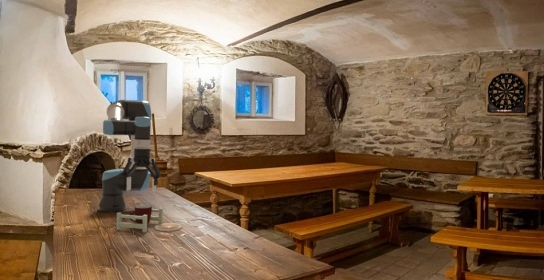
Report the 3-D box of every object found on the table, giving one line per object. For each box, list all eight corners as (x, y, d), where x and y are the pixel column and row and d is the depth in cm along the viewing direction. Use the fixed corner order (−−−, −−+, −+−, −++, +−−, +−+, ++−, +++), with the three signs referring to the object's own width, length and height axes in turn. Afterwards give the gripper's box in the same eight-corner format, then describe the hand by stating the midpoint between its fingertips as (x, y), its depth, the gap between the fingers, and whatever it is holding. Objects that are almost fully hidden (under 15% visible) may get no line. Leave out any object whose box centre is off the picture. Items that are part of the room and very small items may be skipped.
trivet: (149, 230, 197) (150, 228, 197) (162, 223, 210) (162, 221, 210) (175, 232, 195) (175, 230, 195) (186, 225, 208) (186, 224, 208)
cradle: (116, 229, 196) (116, 213, 195) (135, 221, 213) (136, 206, 213) (145, 232, 193) (145, 215, 193) (162, 223, 211) (163, 208, 210)
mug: (130, 229, 197) (131, 208, 197) (127, 225, 204) (128, 205, 204) (153, 227, 202) (153, 207, 202) (149, 223, 209) (149, 204, 209)
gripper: (114, 147, 200) (114, 190, 201) (162, 149, 196) (161, 193, 196) (123, 146, 208) (122, 188, 208) (169, 148, 203) (168, 191, 204)
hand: (141, 191), depth 202 cm, fingers open, 13 cm apart
